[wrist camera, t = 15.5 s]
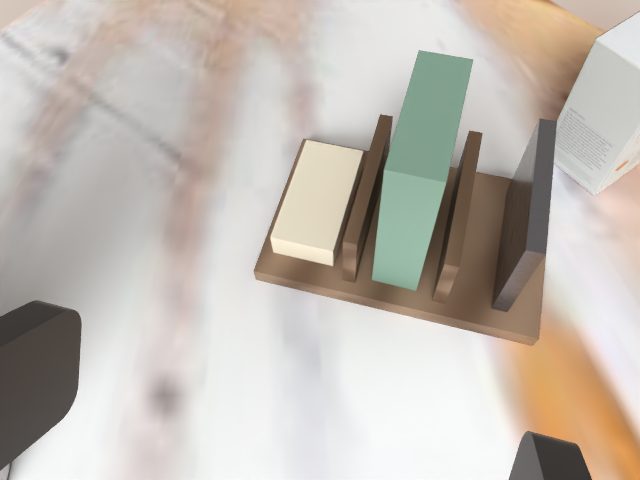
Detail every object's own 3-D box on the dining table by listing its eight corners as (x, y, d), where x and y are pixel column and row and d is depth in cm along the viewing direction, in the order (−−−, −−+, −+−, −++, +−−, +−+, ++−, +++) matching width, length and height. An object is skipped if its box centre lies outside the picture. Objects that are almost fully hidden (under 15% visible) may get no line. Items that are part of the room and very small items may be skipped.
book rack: (256, 279, 45) (241, 231, 39) (304, 149, 52) (299, 90, 45) (532, 345, 42) (567, 305, 35) (546, 196, 48) (577, 140, 42)
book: (371, 279, 43) (383, 169, 31) (399, 179, 48) (419, 50, 36) (416, 290, 43) (446, 182, 31) (439, 188, 47) (473, 59, 35)
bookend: (491, 308, 42) (525, 250, 34) (506, 192, 47) (539, 118, 39) (507, 312, 42) (545, 254, 34) (521, 195, 47) (557, 121, 39)
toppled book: (273, 252, 45) (270, 237, 43) (307, 157, 50) (306, 139, 47) (333, 266, 44) (332, 251, 42) (362, 168, 49) (363, 150, 47)
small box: (597, 113, 53) (666, -9, 42) (653, 154, 50) (743, 36, 39) (538, 153, 51) (594, 36, 40) (593, 198, 48) (670, 87, 37)
